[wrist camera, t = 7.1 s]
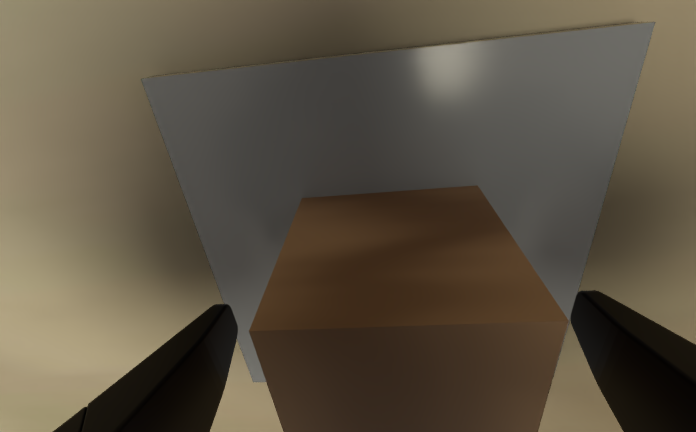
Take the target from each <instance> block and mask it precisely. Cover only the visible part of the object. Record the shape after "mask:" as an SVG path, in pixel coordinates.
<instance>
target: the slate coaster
mask: <svg viewBox="0 0 696 432" xmlns="http://www.w3.org/2000/svg"><path fill="white" fill-rule="evenodd" d="M654 25H655V22H635V23H626V24H617V25H608V26H599V27H590V28H581V29H572V30H563V31H554V32H545V33H536V34H527V35H518V36H509V37H500V38H491V39H482V40H473V41H464V42H455V43H446V44H437V45H428V46H419V47H410V48H401V49H392V50H383V51H374V52H365V53H356V54H347V55H338V56H329V57H320V58H311V59H302V60H293V61H284V62H275V63H266V64H257V65H248V66H239V67H230V68H221V69H212V70H203V71H194V72H185V73H176V74H167V75H158V76H152V77H147V78H143V79H141V81H142V83H143V86H144V89H145V91H146V94H147V97H148V100H149V102H150V105H151V108H152V110H153V113H154V116H155V118H156V121H157V124H158V127H159V129H160V132H161V135H162V137H163V140H164V143H165V145H166V148H167V151H168V153H169V156H170V159H171V162H172V164H173V167H174V170H175V172H176V175H177V178H178V180H179V183H180V186H181V189H182V191H183V194H184V197H185V199H186V202H187V205H188V207H189V210H190V213H191V216H192V218H193V221H194V224H195V226H196V229H197V232H198V234H199V237H200V240H201V243H202V245H203V248H204V251H205V253H206V256H207V259H208V261H209V264H210V267H211V270H212V272H213V275H214V278H215V280H216V283H217V286H218V288H219V291H220V294H221V297H222V299H223V302H224V304H228V305H230V306H231V308H232V311H233V314H234V317H235V319H236V322H237V325H238V335H237V340H238V342H239V345H240V348H241V351H242V353H243V356H244V359H245V361H246V364H247V367H248V369H249V372H250V375H251V377H252V380H253V382H266V379H265V376H264V374H263V371H262V368H261V365H260V362H259V359H258V356H257V353H256V350H255V348H254V345H253V342H252V339H251V336H250V333H249V330H250V327H251V325H252V322H253V320H254V317H255V314H256V312H257V309H258V307H259V304H260V302H261V299H262V297H263V294H264V292H265V289H266V287H267V284H268V282H269V279H270V277H271V274H272V272H273V269H274V267H275V264H276V262H277V259H278V257H279V254H280V252H281V249H282V247H283V244H284V242H285V239H286V237H287V234H288V232H289V229H290V227H291V224H292V222H293V219H294V217H295V214H296V212H297V209H298V207H299V204H300V202H301V199H302V198H311V197H325V196H339V195H352V194H366V193H380V192H393V191H407V190H421V189H435V188H448V187H462V186H476V185H478V187H479V188H480V190H481V191H482V193H483V194H484V196H485V197H486V198H487V200H488V201H489V203H490V204H491V206H492V207H493V209H494V210H495V212H496V213H497V215H498V216H499V218H500V219H501V221H502V222H503V224H504V225H505V227H506V228H507V230H508V231H509V233H510V234H511V236H512V237H513V239H514V240H515V242H516V243H517V245H518V246H519V247H520V249H521V250H522V252H523V253H524V255H525V256H526V258H527V259H528V261H529V262H530V264H531V265H532V267H533V268H534V270H535V271H536V273H537V274H538V276H539V277H540V279H541V280H542V282H543V283H544V285H545V286H546V288H547V289H548V291H549V292H550V294H551V295H552V296H553V298H554V299H555V301H556V302H557V304H558V305H559V307H560V308H561V310H562V311H563V313H564V314H565V316H566V317H567V319H568V320H569V321H570V318H571V312H572V308H573V305H574V301H575V298H576V295H577V293H578V290H579V286H580V283H581V279H582V276H583V272H584V269H585V265H586V262H587V258H588V255H589V251H590V248H591V244H592V241H593V237H594V234H595V230H596V227H597V224H598V220H599V217H600V213H601V210H602V206H603V203H604V199H605V196H606V192H607V189H608V185H609V182H610V178H611V175H612V171H613V168H614V164H615V161H616V157H617V154H618V150H619V147H620V143H621V140H622V136H623V133H624V129H625V126H626V122H627V119H628V115H629V112H630V108H631V105H632V101H633V98H634V94H635V91H636V87H637V84H638V80H639V77H640V73H641V70H642V66H643V63H644V60H645V56H646V53H647V49H648V46H649V42H650V39H651V35H652V32H653V28H654ZM568 325H569V322H568ZM567 328H568V326H567ZM566 332H567V329H566ZM565 335H566V333H565ZM564 339H565V336H564ZM563 342H564V340H563ZM562 346H563V343H562ZM561 349H562V347H561ZM560 353H561V351H560ZM559 356H560V354H559ZM558 360H559V358H558ZM557 363H558V361H557ZM556 367H557V365H556ZM555 370H556V368H555ZM554 374H555V372H554ZM553 377H554V376H553Z"/></svg>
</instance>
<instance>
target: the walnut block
mask: <svg viewBox="0 0 696 432" xmlns="http://www.w3.org/2000/svg"><path fill="white" fill-rule="evenodd" d="M568 322H569V320H568V319H567V317H566V316H565V314H564V313H563V311H562V310H561V308H560V307H559V305H558V304H557V302H556V301H555V299H554V298H553V296H552V295H551V294H550V292H549V291H548V289H547V288H546V286H545V285H544V283H543V282H542V280H541V279H540V277H539V276H538V274H537V273H536V271H535V270H534V268H533V267H532V265H531V264H530V262H529V261H528V259H527V258H526V256H525V255H524V253H523V252H522V250H521V249H520V247H519V246H518V245H517V243H516V242H515V240H514V239H513V237H512V236H511V234H510V233H509V231H508V230H507V228H506V227H505V225H504V224H503V222H502V221H501V219H500V218H499V216H498V215H497V213H496V212H495V210H494V209H493V207H492V206H491V204H490V203H489V201H488V200H487V198H486V197H485V196H484V194H483V193H482V191H481V190H480V188H479V187H478V185H476V186H462V187H448V188H435V189H421V190H407V191H393V192H380V193H366V194H352V195H339V196H325V197H311V198H302V199H301V202H300V204H299V207H298V209H297V212H296V214H295V217H294V219H293V222H292V224H291V227H290V229H289V232H288V234H287V237H286V239H285V242H284V244H283V247H282V249H281V252H280V254H279V257H278V259H277V262H276V264H275V267H274V269H273V272H272V274H271V277H270V279H269V282H268V284H267V287H266V289H265V292H264V294H263V297H262V299H261V302H260V304H259V307H258V309H257V312H256V314H255V317H254V320H253V322H252V325H251V327H250V330H249V333H250V336H251V339H252V342H253V345H254V348H255V350H256V353H257V356H258V359H259V362H260V365H261V368H262V371H263V374H264V376H265V379H266V382H267V385H268V388H269V391H270V394H271V397H272V399H273V402H274V405H275V408H276V411H277V414H278V417H279V420H280V423H281V425H282V428H283V431H284V432H538V429H539V426H540V422H541V418H542V415H543V411H544V408H545V404H546V401H547V397H548V393H549V390H550V386H551V383H552V379H553V376H554V372H555V368H556V365H557V361H558V358H559V354H560V351H561V347H562V343H563V340H564V336H565V333H566V329H567V326H568Z"/></svg>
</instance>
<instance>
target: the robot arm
mask: <svg viewBox="0 0 696 432" xmlns="http://www.w3.org/2000/svg"><path fill="white" fill-rule="evenodd" d="M571 324H572V326H573V329H574V331H575V333H576V336H577V338H578V340H579V343H580V345H581V348H582V350H583V352H584V355H585V357H586V359H587V362H588V364H589V366H590V369H591V371H592V373H593V375H594V378H595V380H596V382H597V384H598V386H599V388H600V390H601V392H602V394H603V395H604V397H605V399H606V401H607V403H608V404H609V406H610V408H611V410H612V412H613V413H614V415H615V417H616V419H617V421H618V422H619V424H620V426H621V428H622V430H623V431H624V432H696V345H695V344H693V343H692V342H690V341H688V340H686V339H684V338H683V337H681V336H679V335H677V334H675V333H674V332H672V331H670V330H668V329H666V328H664V327H663V326H661V325H659V324H657V323H655V322H654V321H652V320H650V319H648V318H646V317H645V316H643V315H641V314H639V313H637V312H636V311H634V310H632V309H630V308H628V307H627V306H625V305H623V304H621V303H619V302H618V301H616V300H614V299H612V298H610V297H609V296H607V295H605V294H603V293H601V292H599V291H595V290H592V291H580V292H578V293H577V295H576V298H575V301H574V305H573V308H572V312H571ZM237 335H238V325H237V322H236V319H235V317H234V314H233V311H232V308H231V306H230V305H228V304H216V305H213V306H212V307H210V308H209V309H208V310H207V311H205V312H204V313H203V314H201V315H200V316H199V317H198V318H196V319H195V320H194V321H193V322H191V323H190V324H189V325H188V326H186V327H185V328H184V329H183V330H181V331H180V332H179V333H177V334H176V335H175V336H174V337H172V338H171V339H170V340H169V341H167V342H166V343H165V344H164V345H162V346H161V347H160V348H159V349H157V350H156V351H155V352H153V353H152V354H151V355H150V356H148V357H147V358H146V359H145V360H143V361H142V362H141V363H140V364H138V365H137V366H136V367H135V368H133V369H132V370H131V371H129V372H128V373H127V374H126V375H124V376H123V377H122V378H121V379H119V380H118V381H117V382H116V383H114V384H113V385H112V386H110V387H109V388H108V389H107V390H105V391H104V392H103V393H102V394H100V395H99V396H98V397H97V398H95V399H94V400H93V401H92V402H90V403H89V404H88V406H87V407H84V408H83V409H81V410H80V411H79V412H77V413H76V414H75V415H74V416H72V417H71V418H70V419H69V420H67V421H66V422H65V423H63V424H62V425H61V426H60V427H58V428H57V429H56V430H54V431H53V432H210V429H211V426H212V423H213V420H214V417H215V415H216V412H217V409H218V406H219V403H220V400H221V398H222V394H223V391H224V388H225V385H226V381H227V377H228V373H229V368H230V364H231V360H232V356H233V352H234V347H235V343H236V339H237Z"/></svg>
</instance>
